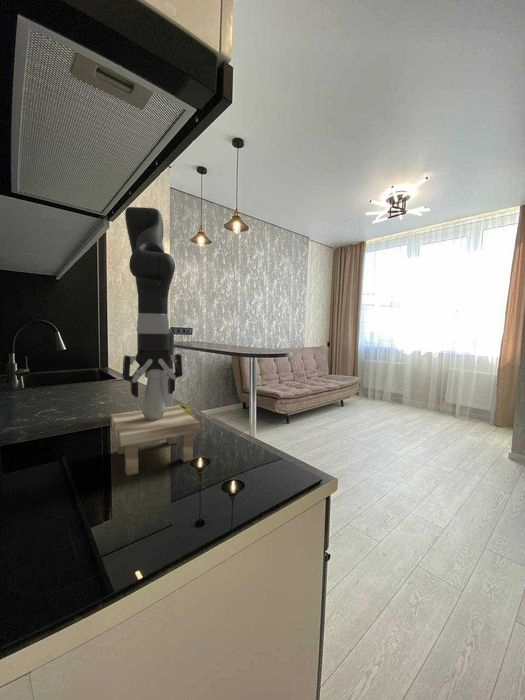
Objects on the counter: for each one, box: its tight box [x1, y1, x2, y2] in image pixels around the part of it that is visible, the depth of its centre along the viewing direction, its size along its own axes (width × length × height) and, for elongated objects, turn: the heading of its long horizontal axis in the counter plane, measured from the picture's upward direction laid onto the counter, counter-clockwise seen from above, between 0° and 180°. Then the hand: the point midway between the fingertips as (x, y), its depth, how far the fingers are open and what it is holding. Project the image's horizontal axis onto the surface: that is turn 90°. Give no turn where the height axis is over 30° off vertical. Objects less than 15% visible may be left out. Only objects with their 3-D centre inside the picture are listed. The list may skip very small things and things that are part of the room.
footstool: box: [110, 405, 201, 476], centre depth 76 cm, size 18×18×10 cm
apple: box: [173, 404, 193, 417], centre depth 96 cm, size 8×8×10 cm
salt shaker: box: [140, 369, 165, 420], centre depth 75 cm, size 6×6×13 cm
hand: (153, 394), depth 75 cm, fingers open, 8 cm apart
